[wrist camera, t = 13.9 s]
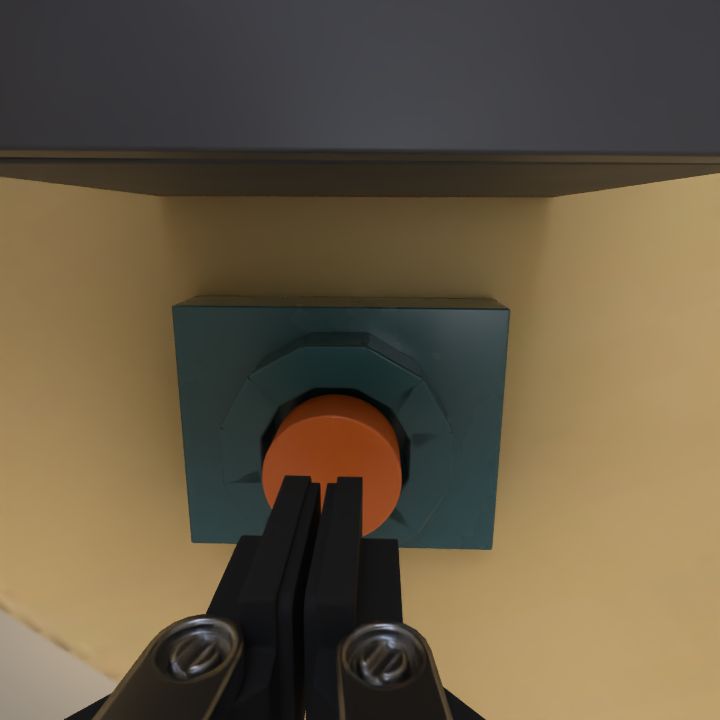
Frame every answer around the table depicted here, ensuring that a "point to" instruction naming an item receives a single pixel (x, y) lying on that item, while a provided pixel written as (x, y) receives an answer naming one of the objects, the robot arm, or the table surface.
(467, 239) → the table surface
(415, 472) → the control block
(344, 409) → the button
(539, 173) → the open dark grey box
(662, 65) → the lid
